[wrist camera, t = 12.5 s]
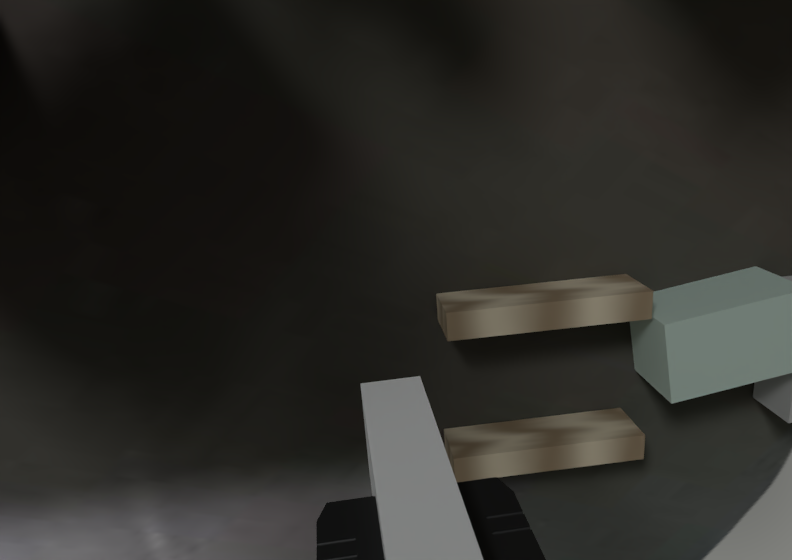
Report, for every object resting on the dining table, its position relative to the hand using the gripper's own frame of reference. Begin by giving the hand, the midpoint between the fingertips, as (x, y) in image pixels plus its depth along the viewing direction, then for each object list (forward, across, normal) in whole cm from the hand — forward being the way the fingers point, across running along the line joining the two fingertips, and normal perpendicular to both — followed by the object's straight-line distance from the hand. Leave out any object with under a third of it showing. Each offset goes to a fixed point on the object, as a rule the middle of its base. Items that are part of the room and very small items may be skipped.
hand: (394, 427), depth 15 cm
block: (+27, +25, -11) cm, 38 cm away
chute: (+27, +13, -13) cm, 32 cm away
